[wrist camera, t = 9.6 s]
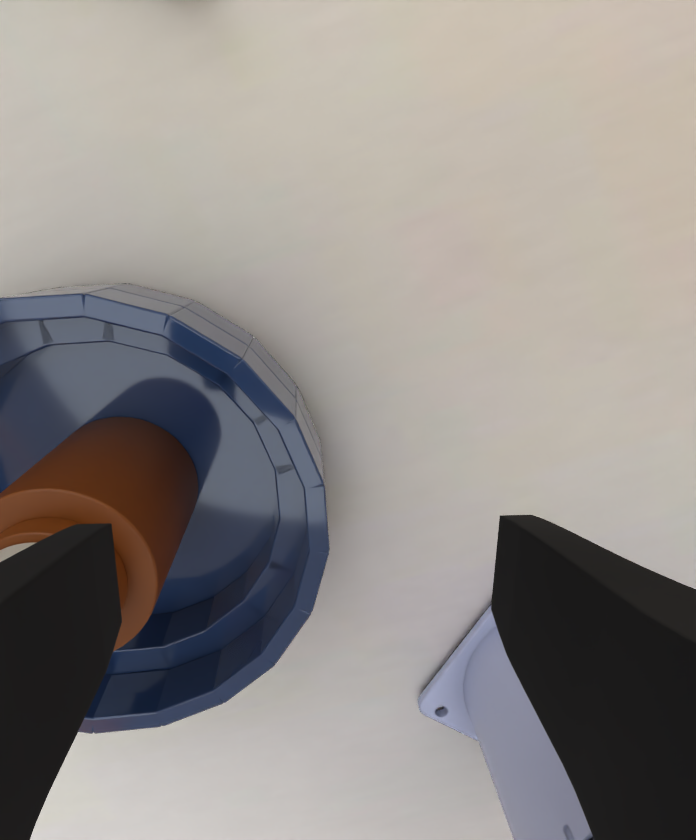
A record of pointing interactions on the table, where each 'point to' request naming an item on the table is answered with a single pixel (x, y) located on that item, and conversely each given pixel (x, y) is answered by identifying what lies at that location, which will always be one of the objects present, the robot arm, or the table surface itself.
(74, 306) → the bowl
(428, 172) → the table surface
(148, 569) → the bottle
